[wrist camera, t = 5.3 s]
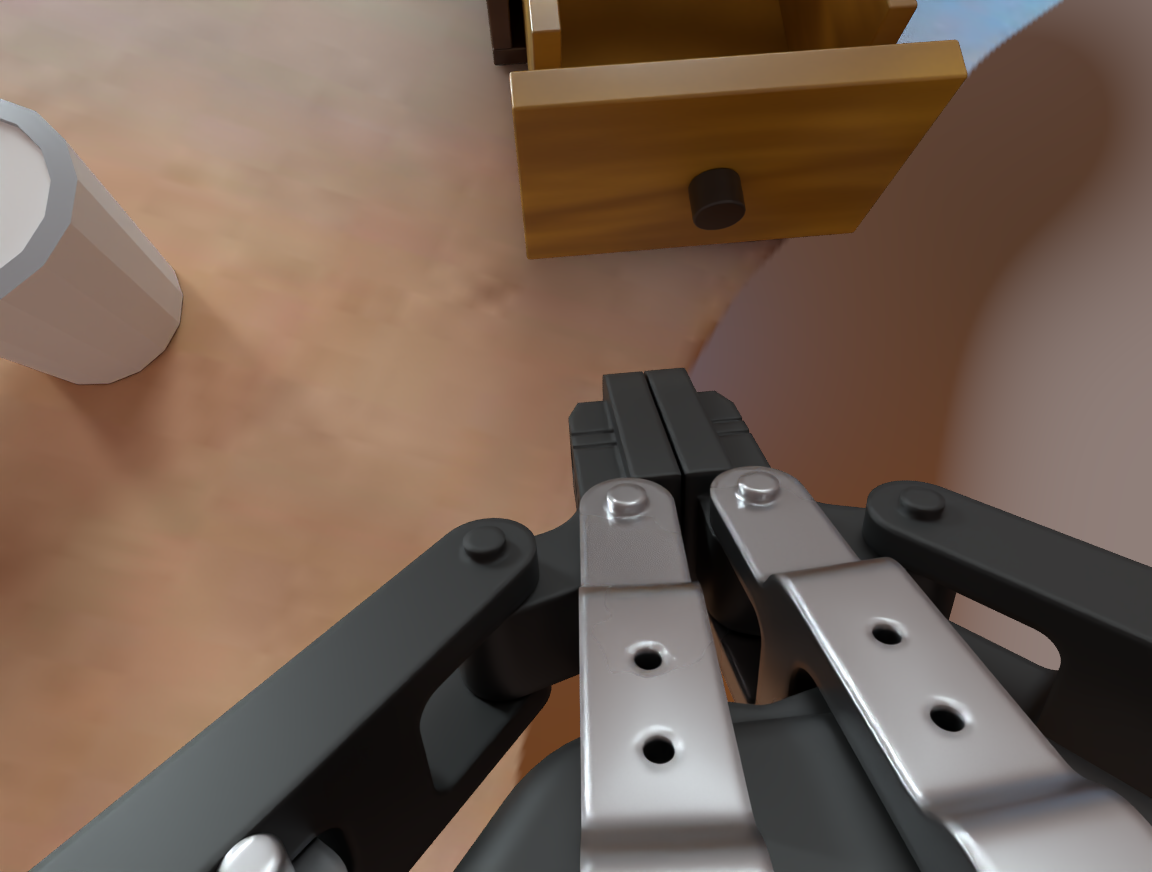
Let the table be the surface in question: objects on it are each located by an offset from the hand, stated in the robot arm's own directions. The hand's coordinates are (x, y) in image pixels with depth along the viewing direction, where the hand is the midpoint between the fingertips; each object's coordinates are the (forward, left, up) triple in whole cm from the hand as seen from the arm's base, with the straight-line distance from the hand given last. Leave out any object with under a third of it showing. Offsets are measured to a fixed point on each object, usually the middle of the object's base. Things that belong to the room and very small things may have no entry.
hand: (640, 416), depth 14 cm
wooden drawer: (+13, +9, -10) cm, 19 cm away
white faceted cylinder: (-8, +18, -11) cm, 23 cm away
